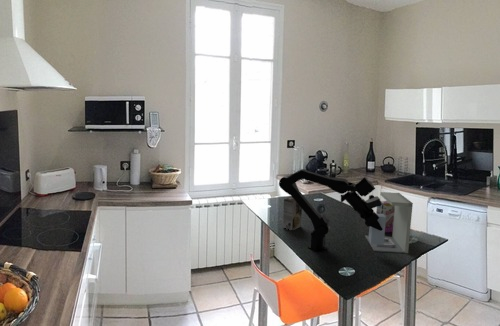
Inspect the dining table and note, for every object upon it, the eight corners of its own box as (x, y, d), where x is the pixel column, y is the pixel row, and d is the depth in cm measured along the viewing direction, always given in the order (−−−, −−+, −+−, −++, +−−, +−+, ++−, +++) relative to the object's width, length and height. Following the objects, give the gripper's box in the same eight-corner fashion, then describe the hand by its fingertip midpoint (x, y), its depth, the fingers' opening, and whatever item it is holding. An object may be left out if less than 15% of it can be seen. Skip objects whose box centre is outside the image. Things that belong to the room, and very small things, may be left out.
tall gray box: (370, 243, 162) (373, 216, 161) (368, 239, 167) (370, 213, 165) (383, 244, 162) (386, 217, 160) (380, 240, 167) (383, 213, 165)
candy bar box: (380, 233, 193) (382, 203, 191) (374, 230, 198) (376, 201, 196) (397, 232, 197) (400, 202, 194) (391, 229, 201) (394, 199, 199)
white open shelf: (374, 251, 169) (378, 201, 166) (365, 236, 189) (368, 191, 185) (408, 253, 168) (412, 203, 164) (395, 237, 188) (399, 192, 184)
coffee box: (291, 224, 205) (292, 196, 203) (301, 226, 201) (302, 198, 199) (282, 228, 198) (283, 199, 196) (292, 231, 194) (293, 201, 192)
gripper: (375, 195, 152) (401, 223, 153) (366, 186, 171) (389, 210, 171) (354, 213, 154) (379, 240, 155) (348, 201, 173) (370, 225, 173)
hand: (380, 228), depth 164 cm, fingers closed on tall gray box, 5 cm apart
